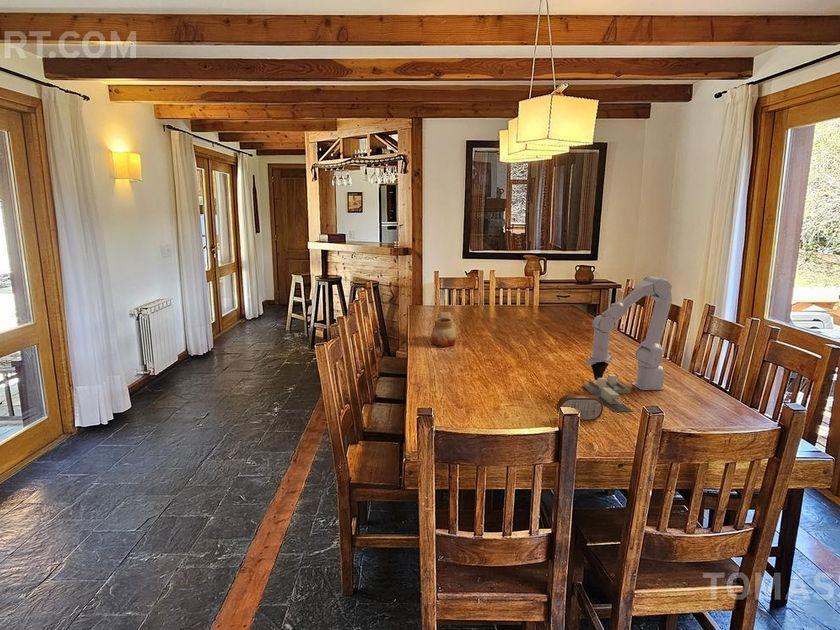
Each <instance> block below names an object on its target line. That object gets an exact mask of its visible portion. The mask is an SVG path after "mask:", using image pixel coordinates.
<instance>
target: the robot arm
mask: <svg viewBox="0 0 840 630" xmlns="http://www.w3.org/2000/svg"><path fill="white" fill-rule="evenodd" d="M672 287H673V286H672V284H671V283H670V281H669V279H667V278H663V277H662V278H661V277H656V276H653V275H647V276H645V277H644V278H643V279H642V280H640V281H639V282H638V284H637V286H635V288H634V289H633V290H632V291H630V292H629V293H628V294H627V295H626V297H624V298H623V299H622V300H621V301H620V302H617V301H616V302H614V303H613V302H612V303H611V304H610V306H609V308H607V309H606V310H605V311H602V313H601V315H597V316H595V317H594V318H593V321H591V326H592V328H593V340H592V342H593V343H592V353H591V354H592V355H591V356H590V357H589V358H587V359H586V362H585V363H586V366H590V367H591V369H592V372H593V378H594V381H597V379H598V378H604V377H603V376H604V374H605V371H606V369H607V368H608V367H609V363H608V362H610V361H613V355H612V354H609V347H610V346H609V344H610V333H611V331H612V330H613V329H614V326H615V324H616V323H617V322H618V321H619V320H620V319H622V318H623V317H624V316H625V315H626V314H628V309H629V308H630V307H632V306H633V305H635V303H637V302H638V301H639V300H640V299H642V298H643V297H649V296H651V298H652V299H653V300H654V301H655V304H654V307H653V309H652V314H651V316H650V317H651V318H650V321H649V324H648V328H647V332H646V336H645V339H644V340H643V341H642V342H641V343H640V345H639V347H638V348H637V350H636V351H635V355H634V356H635V358H636V360H637V371H636V372H637V373H636V382H631V384H632V385H633V386H635V388H638V389H639V390H641V391H652V390H654V391H658V390H659V391H661V390H665V388H664V381H665V370H664V369H665V368H663V366H662V365H661V364H662V363H663V359H664V358H663V352H664V351H663V348H662V345H661V341H662V338H663V335H664V330H665V327H666V322H667V320H668V317H669V314H670V313H669V312H670V309H671V305H672V301H673V296H672Z"/></svg>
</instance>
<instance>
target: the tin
mask: <svg viewBox="0 0 840 630" xmlns="http://www.w3.org/2000/svg"><path fill="white" fill-rule="evenodd" d="M560 407H571V408H575V409H578V410H579V412H580V421H587V422H589V421H590V422H591V421H595V420H597V419H599V418H600V417H601V416H602V414H603V412H604V404H603V403H602V402H601V401H600V400H599V398H598V397H596V396H594V395H593V394H566V395H562V397H561V398H560V399H559V400H558V401H557V403H556V411H557V413H558V412H559V408H560Z"/></svg>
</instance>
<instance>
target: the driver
mask: <svg viewBox="0 0 840 630" xmlns="http://www.w3.org/2000/svg"><path fill="white" fill-rule="evenodd" d="M601 397H602V398H603V399H605V400H606V401H607V402H608V403H609V404H619V405H620V406H622V403H623V402H622V401H621V400H619V399H620V393H616V392H615V391H613V390H612V389H611V388H601ZM621 402H622V403H621Z"/></svg>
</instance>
